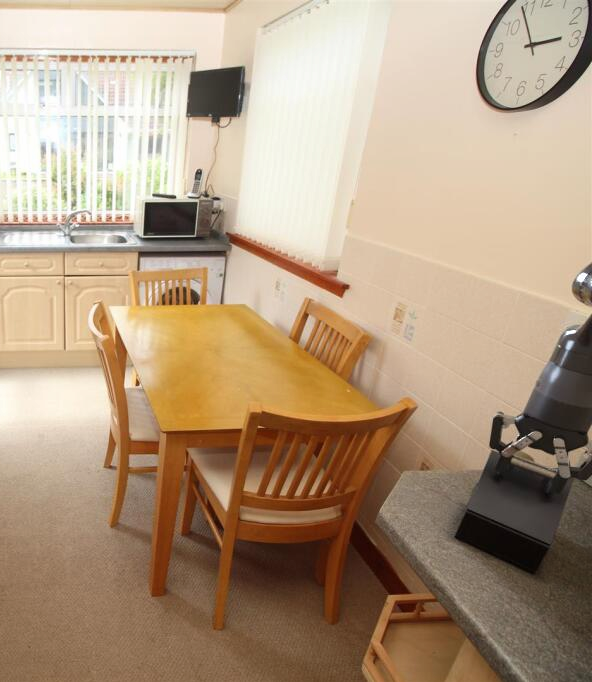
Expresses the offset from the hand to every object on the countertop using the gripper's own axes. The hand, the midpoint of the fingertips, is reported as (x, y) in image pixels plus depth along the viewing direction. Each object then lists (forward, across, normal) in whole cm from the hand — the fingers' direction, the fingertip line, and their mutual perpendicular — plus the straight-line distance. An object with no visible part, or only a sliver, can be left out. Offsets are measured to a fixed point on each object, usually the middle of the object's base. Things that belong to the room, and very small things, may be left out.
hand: (524, 482), depth 78 cm
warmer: (+12, 0, 0) cm, 12 cm away
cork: (+13, +2, -13) cm, 18 cm away
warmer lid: (+3, 0, 0) cm, 3 cm away
